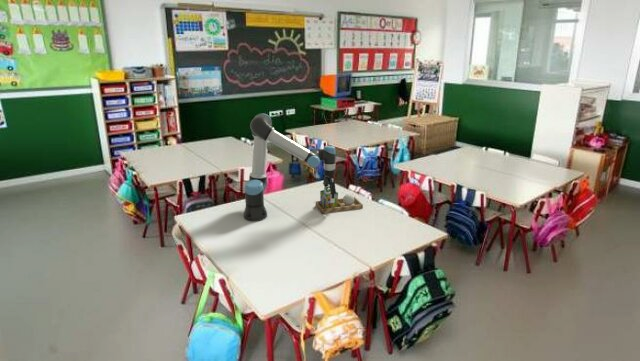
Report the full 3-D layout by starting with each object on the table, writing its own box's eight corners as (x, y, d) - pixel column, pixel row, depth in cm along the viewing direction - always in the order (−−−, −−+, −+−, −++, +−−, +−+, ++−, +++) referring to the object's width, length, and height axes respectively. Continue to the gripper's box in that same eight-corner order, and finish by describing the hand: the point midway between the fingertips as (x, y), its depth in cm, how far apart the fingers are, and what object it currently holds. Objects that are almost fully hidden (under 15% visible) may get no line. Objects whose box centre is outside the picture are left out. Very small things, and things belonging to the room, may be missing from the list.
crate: (321, 214, 270) (321, 209, 269) (315, 206, 283) (315, 201, 282) (362, 209, 278) (362, 204, 276) (354, 201, 291) (354, 196, 290)
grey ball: (345, 208, 277) (345, 197, 275) (341, 203, 285) (341, 193, 282) (356, 206, 280) (356, 195, 277) (351, 202, 287) (352, 191, 284)
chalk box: (326, 211, 273) (326, 190, 268) (319, 206, 280) (319, 186, 275) (338, 208, 277) (338, 187, 272) (331, 203, 284) (331, 183, 280)
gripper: (341, 174, 259) (340, 205, 266) (329, 163, 281) (328, 192, 288) (330, 175, 257) (329, 206, 264) (318, 164, 279) (318, 193, 286)
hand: (329, 199), depth 276 cm, fingers open, 13 cm apart
